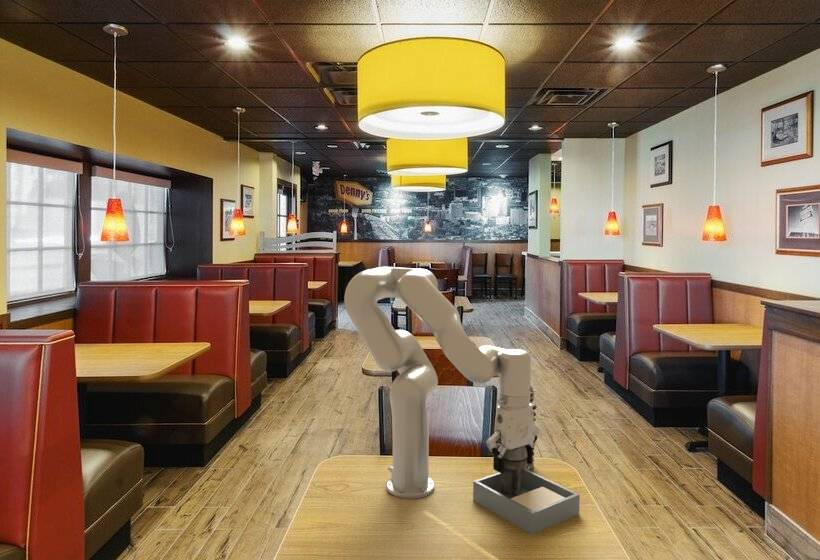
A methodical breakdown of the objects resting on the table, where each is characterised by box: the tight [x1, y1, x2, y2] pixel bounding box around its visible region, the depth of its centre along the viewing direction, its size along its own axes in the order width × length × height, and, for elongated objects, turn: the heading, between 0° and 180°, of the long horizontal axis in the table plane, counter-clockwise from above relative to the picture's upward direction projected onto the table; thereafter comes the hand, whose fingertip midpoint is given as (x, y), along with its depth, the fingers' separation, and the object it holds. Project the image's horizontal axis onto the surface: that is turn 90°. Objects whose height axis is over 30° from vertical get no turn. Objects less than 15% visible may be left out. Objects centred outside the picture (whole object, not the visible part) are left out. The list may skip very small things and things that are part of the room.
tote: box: [472, 469, 581, 536], centre depth 147 cm, size 20×16×6 cm
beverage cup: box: [498, 446, 528, 499], centre depth 150 cm, size 7×7×20 cm
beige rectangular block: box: [511, 487, 565, 511], centre depth 144 cm, size 8×11×4 cm
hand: (513, 466), depth 150 cm, fingers open, 9 cm apart
